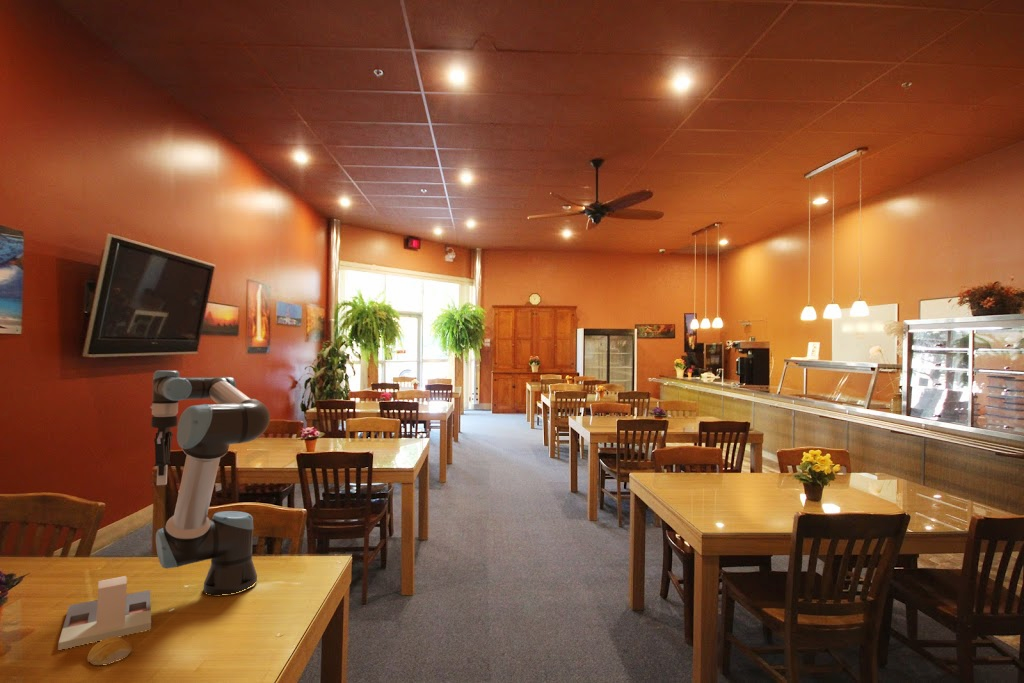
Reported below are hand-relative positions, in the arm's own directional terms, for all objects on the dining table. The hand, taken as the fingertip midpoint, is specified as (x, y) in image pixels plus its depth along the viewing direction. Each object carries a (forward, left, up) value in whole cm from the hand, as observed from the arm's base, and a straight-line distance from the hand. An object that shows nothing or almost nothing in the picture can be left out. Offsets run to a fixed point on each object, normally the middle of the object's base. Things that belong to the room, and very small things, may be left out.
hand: (161, 484), depth 182 cm
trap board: (+4, +31, -29) cm, 43 cm away
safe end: (+1, +43, -29) cm, 52 cm away
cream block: (0, +42, -27) cm, 50 cm away
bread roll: (-4, +56, -30) cm, 63 cm away
